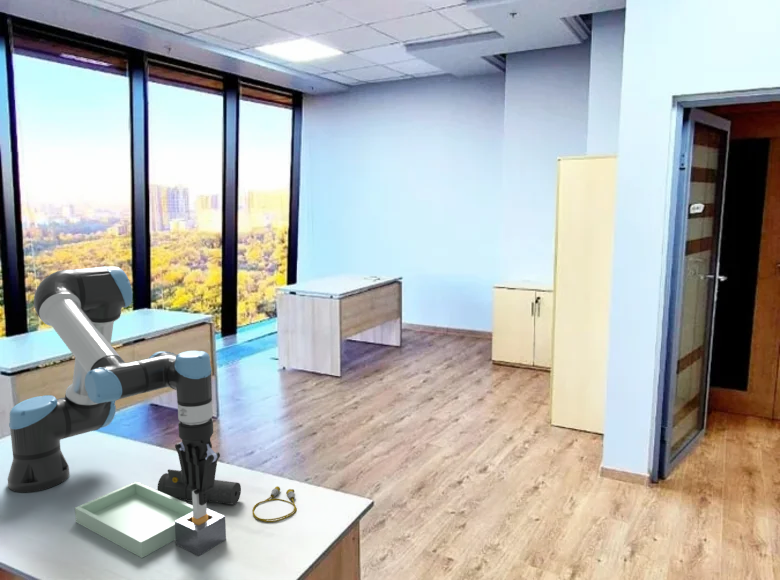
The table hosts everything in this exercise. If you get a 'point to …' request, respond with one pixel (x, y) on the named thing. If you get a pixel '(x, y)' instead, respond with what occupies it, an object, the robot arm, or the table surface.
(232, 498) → the laser sight
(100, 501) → the tray
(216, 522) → the grey square holder
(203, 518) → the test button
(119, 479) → the table surface
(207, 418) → the robot arm
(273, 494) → the extension cord
